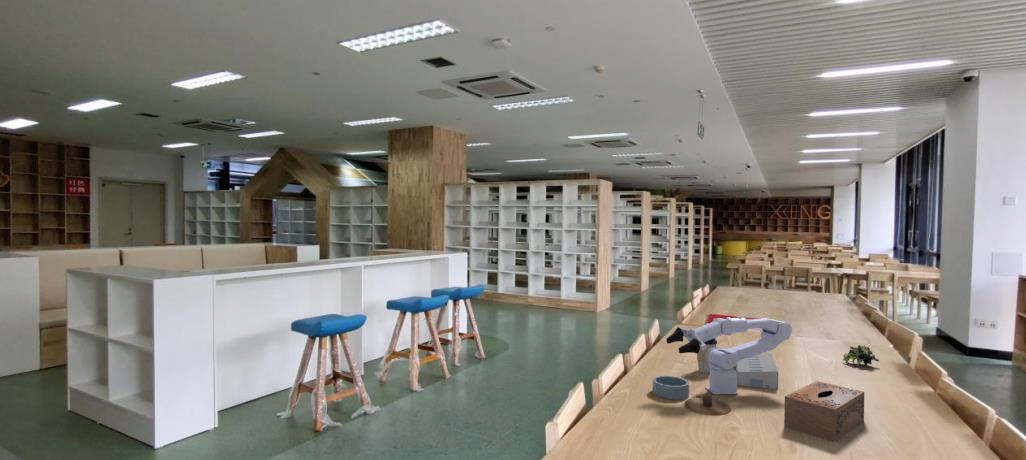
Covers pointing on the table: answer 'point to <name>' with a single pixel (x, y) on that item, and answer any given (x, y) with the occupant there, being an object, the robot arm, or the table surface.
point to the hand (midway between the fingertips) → (673, 345)
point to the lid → (707, 406)
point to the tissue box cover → (824, 410)
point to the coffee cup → (701, 356)
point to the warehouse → (758, 371)
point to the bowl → (671, 387)
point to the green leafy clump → (860, 355)
